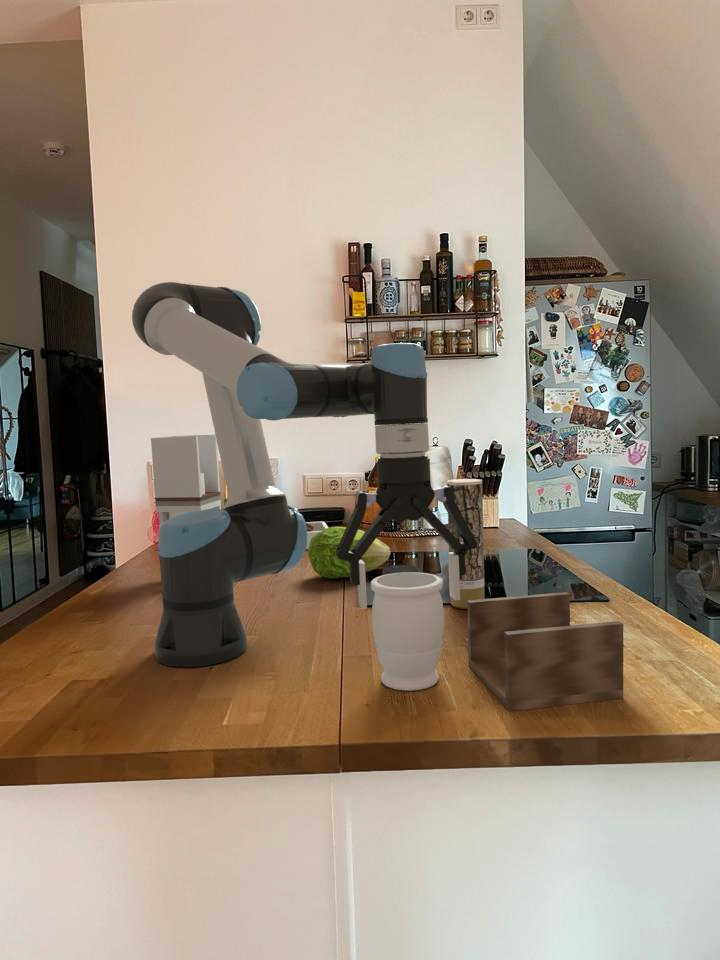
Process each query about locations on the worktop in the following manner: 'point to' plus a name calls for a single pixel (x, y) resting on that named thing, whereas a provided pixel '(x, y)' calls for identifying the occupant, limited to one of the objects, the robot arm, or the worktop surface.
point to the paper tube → (472, 512)
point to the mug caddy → (315, 530)
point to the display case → (185, 474)
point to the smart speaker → (400, 569)
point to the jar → (408, 628)
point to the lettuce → (328, 561)
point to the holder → (543, 652)
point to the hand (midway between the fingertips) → (409, 602)
